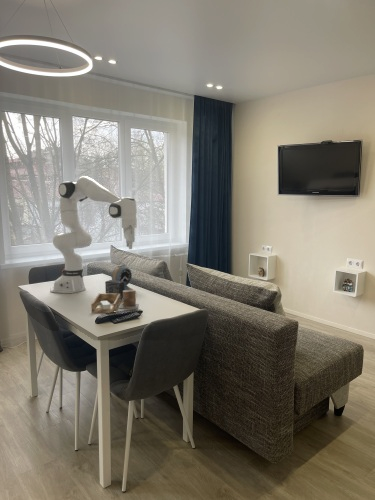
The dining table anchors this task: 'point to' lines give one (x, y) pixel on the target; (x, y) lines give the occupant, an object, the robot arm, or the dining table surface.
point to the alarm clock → (122, 275)
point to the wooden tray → (105, 297)
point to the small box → (115, 287)
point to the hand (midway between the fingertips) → (129, 247)
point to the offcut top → (105, 304)
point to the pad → (129, 307)
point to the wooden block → (129, 298)
